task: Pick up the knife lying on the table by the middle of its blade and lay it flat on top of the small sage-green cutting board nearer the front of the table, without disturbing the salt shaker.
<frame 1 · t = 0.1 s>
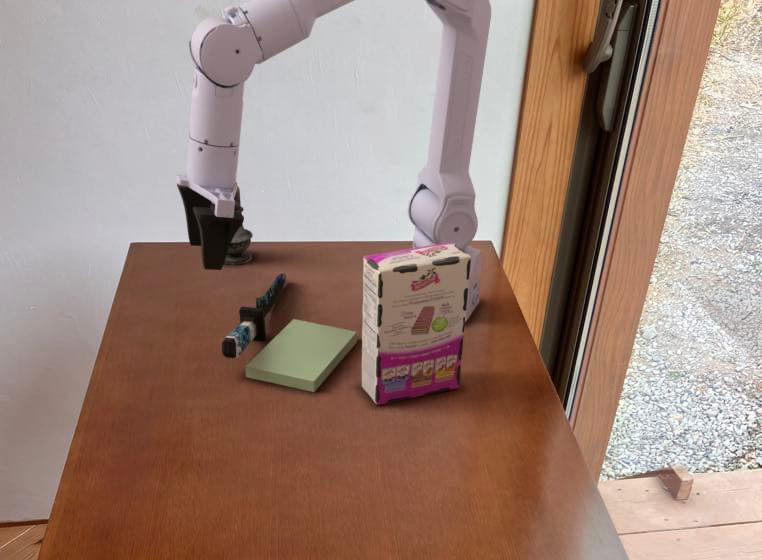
hand: (205, 256, 109), 10 cm above the table, tool pointing down, fingers open, 7 cm apart
knife: (261, 329, 117), on the table
candy bar box: (408, 389, 106), on the table
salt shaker: (234, 259, 135), on the table
cutting board: (303, 359, 111), on the table
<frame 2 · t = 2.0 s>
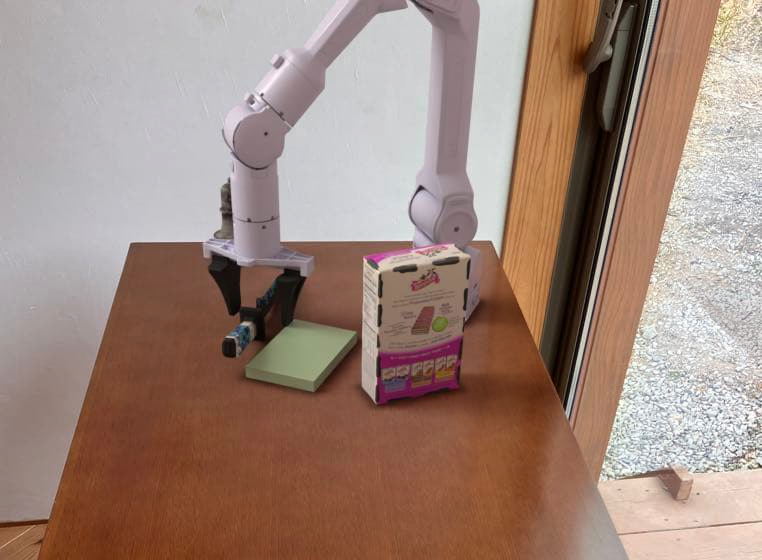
hand: (260, 318, 116), 1 cm above the table, tool pointing down, fingers open, 7 cm apart
nothing on the table moved.
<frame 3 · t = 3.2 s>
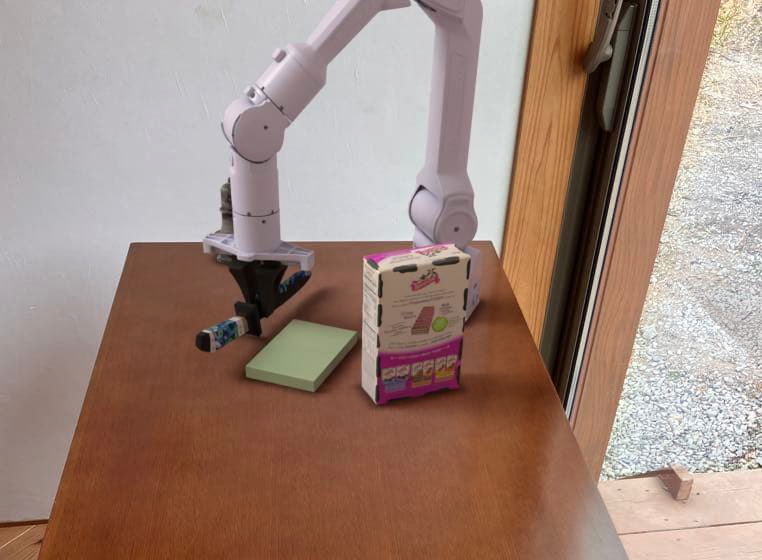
hand: (261, 313, 116), 2 cm above the table, tool pointing down, fingers closed on knife
knife: (263, 325, 117), point 1 cm above the table, touching gripper
everything else where it was.
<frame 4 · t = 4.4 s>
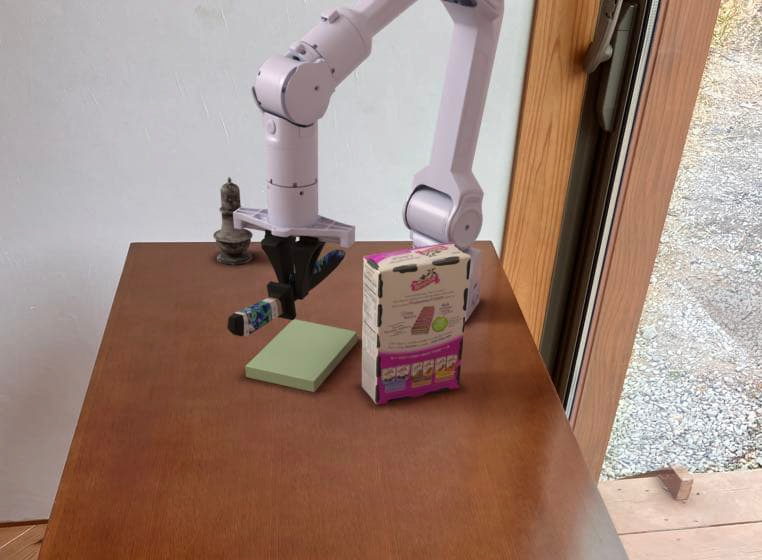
hand: (295, 295, 107), 8 cm above the table, tool pointing down, fingers closed on knife
knife: (296, 308, 108), point 6 cm above the table, touching gripper
everything else where it was.
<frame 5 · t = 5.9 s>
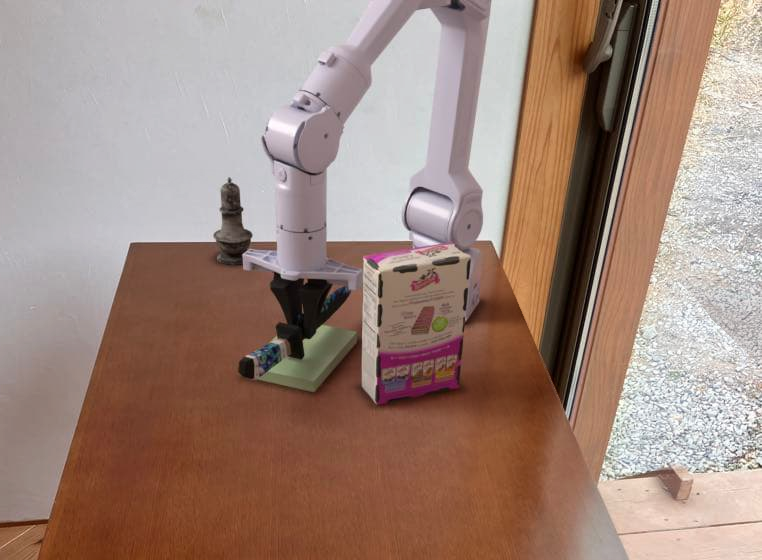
hand: (303, 334, 109), 3 cm above the table, tool pointing down, fingers closed on knife
knife: (304, 347, 110), point 2 cm above the table, touching gripper
everything else where it was.
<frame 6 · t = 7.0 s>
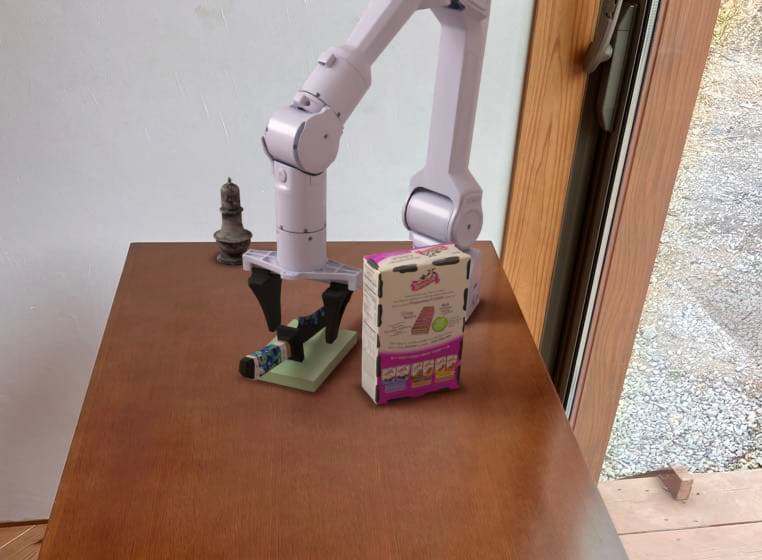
hand: (303, 334, 109), 3 cm above the table, tool pointing down, fingers open, 7 cm apart
knife: (304, 350, 110), point 1 cm above the table, touching cutting board
everything else where it was.
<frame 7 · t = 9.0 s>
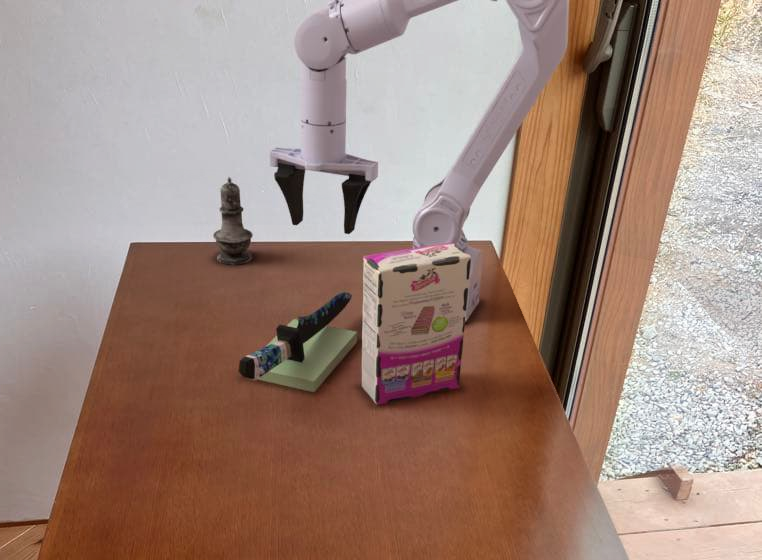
hand: (323, 227, 120), 9 cm above the table, tool pointing down, fingers open, 7 cm apart
nothing on the table moved.
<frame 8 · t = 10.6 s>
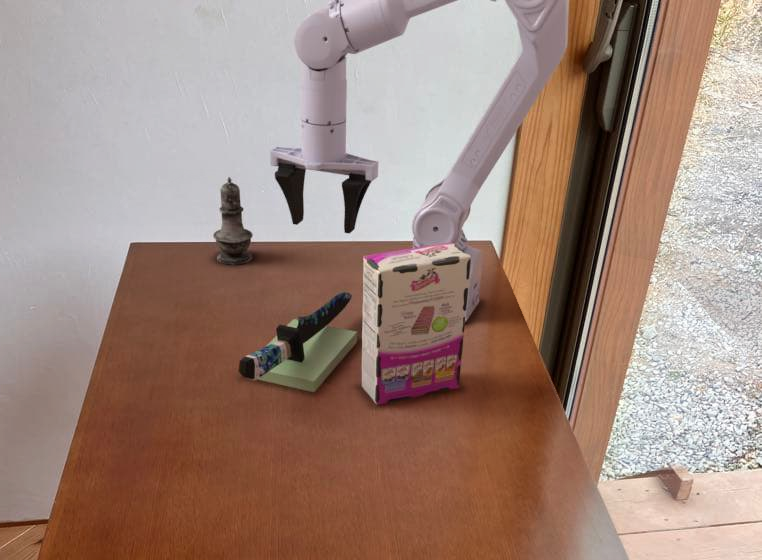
hand: (323, 226, 121), 9 cm above the table, tool pointing down, fingers open, 7 cm apart
nothing on the table moved.
at the end: knife inside the target area on the cutting board (0.2 cm from its centre), point 1.3 cm above the cutting board's base; knife touching cutting board; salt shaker moved 0.2 cm from its start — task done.
